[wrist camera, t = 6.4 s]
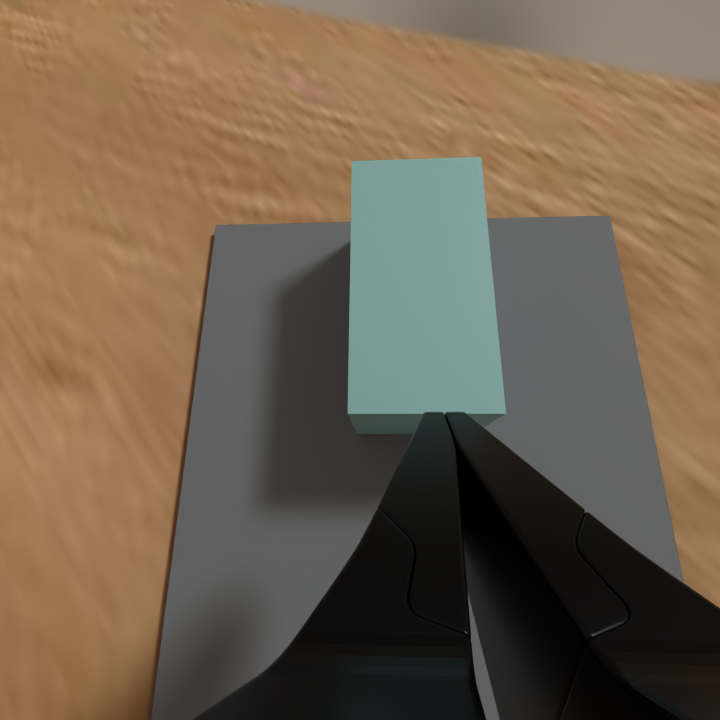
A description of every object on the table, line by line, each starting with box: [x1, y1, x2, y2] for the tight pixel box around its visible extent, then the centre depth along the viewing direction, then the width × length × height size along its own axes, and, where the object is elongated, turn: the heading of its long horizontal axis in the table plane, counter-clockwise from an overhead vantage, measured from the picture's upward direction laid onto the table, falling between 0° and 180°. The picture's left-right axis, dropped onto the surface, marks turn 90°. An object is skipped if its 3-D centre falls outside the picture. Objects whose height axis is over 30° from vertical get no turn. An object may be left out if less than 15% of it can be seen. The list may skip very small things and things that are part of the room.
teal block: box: [348, 157, 506, 434], centre depth 15 cm, size 4×4×9 cm
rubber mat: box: [151, 216, 684, 720], centre depth 16 cm, size 20×18×1 cm
